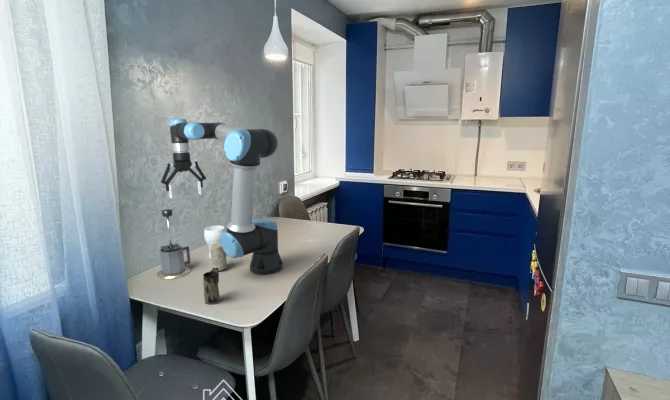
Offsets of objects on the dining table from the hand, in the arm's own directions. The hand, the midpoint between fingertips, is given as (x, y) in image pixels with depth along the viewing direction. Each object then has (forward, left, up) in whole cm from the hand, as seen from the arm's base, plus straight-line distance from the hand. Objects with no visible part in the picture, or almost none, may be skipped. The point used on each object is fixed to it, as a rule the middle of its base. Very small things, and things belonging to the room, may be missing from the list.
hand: (185, 196), depth 178 cm
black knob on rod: (-14, +12, -22) cm, 29 cm away
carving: (-23, -6, -32) cm, 40 cm away
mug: (-51, +6, -32) cm, 61 cm away
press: (-14, +12, -32) cm, 37 cm away
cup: (-5, -11, -32) cm, 34 cm away
